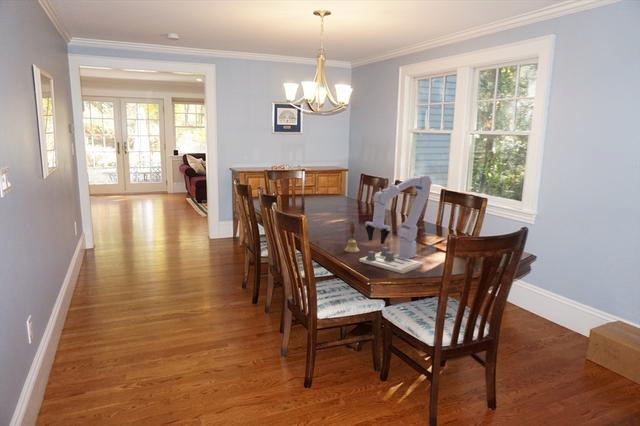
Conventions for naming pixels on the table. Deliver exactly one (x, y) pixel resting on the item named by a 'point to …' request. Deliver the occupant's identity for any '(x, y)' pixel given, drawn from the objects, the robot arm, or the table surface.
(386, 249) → the knob
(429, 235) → the table surface
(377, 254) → the switch board
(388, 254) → the knob
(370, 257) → the knob
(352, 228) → the hand bell
